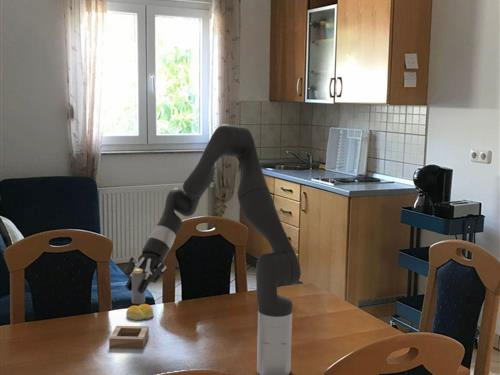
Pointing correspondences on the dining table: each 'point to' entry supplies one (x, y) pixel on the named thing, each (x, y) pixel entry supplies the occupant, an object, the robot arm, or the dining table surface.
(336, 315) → the dining table surface
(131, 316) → the bread roll
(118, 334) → the socket
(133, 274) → the plug
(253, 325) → the dining table surface
